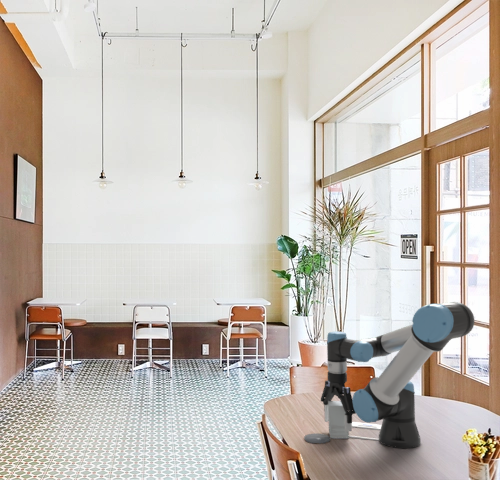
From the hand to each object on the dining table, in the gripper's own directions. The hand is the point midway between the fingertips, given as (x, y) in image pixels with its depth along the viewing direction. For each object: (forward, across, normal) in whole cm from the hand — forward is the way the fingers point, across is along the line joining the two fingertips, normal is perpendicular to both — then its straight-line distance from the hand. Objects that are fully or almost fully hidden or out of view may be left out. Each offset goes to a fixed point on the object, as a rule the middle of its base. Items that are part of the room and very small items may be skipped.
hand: (337, 426), depth 200 cm
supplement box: (+4, 0, 0) cm, 4 cm away
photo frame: (+4, +1, +12) cm, 13 cm away
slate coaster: (+4, 0, -9) cm, 10 cm away
